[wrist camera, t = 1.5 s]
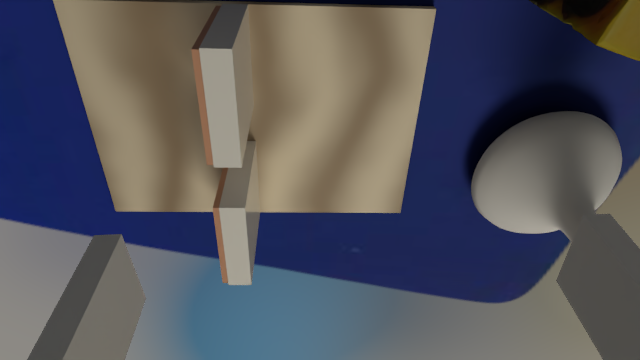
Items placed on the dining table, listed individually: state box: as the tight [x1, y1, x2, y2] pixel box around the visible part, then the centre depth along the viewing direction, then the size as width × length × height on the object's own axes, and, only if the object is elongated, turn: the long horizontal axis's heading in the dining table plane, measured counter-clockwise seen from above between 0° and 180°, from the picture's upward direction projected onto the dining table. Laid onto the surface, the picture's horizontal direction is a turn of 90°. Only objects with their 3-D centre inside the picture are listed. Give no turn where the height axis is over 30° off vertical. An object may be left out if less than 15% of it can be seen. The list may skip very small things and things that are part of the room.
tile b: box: [213, 141, 260, 285], centre depth 33 cm, size 2×7×8 cm, turn 178°
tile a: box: [191, 4, 254, 168], centre depth 27 cm, size 2×7×8 cm, turn 178°
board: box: [53, 0, 436, 213], centre depth 34 cm, size 24×17×1 cm
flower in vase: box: [471, 111, 622, 242], centre depth 27 cm, size 13×11×25 cm
